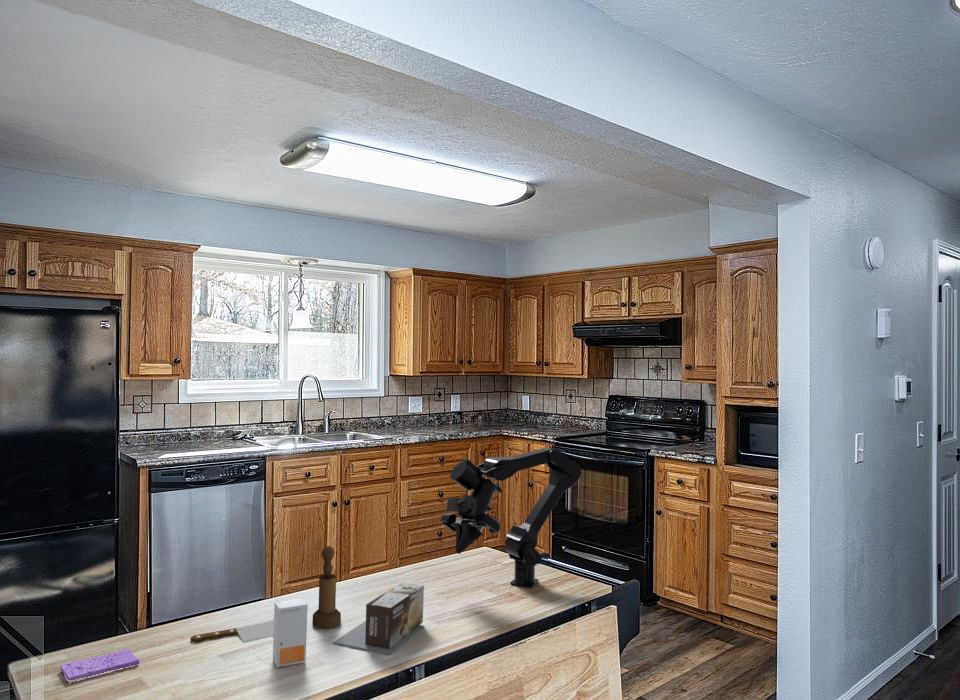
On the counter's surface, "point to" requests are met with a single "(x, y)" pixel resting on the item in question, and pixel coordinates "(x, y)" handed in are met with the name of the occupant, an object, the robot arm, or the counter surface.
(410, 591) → the coffee box
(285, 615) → the skincare box
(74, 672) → the sponges
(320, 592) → the mortar and pestle
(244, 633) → the kitchen cleaver
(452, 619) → the counter surface
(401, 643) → the mat
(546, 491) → the robot arm
